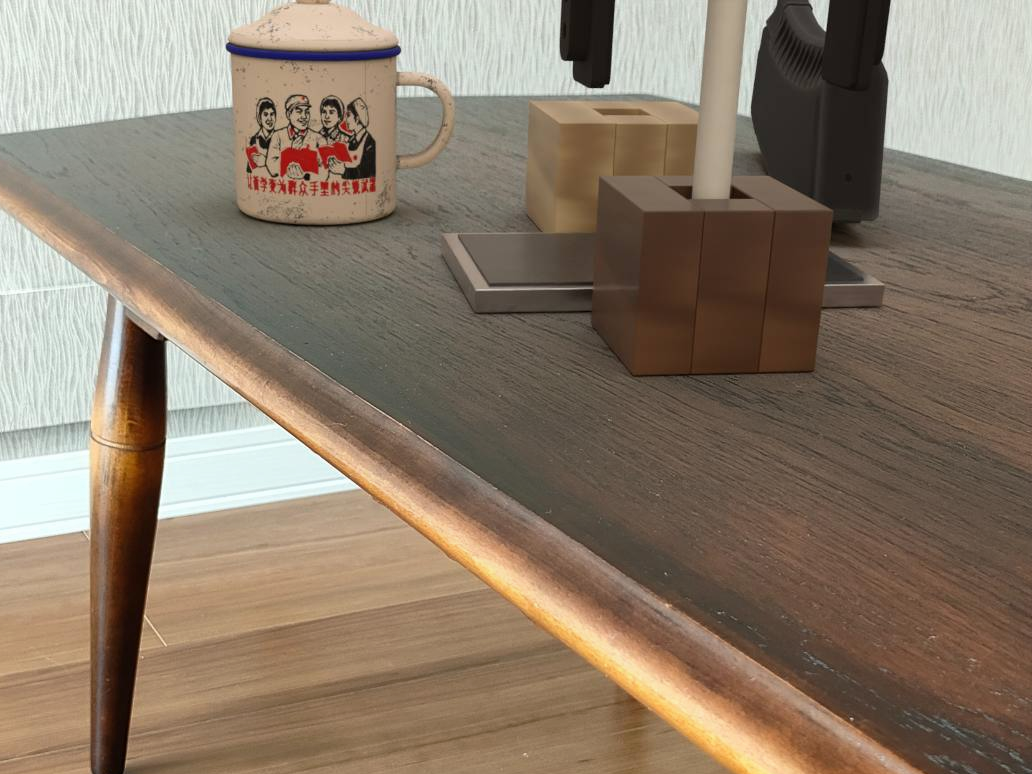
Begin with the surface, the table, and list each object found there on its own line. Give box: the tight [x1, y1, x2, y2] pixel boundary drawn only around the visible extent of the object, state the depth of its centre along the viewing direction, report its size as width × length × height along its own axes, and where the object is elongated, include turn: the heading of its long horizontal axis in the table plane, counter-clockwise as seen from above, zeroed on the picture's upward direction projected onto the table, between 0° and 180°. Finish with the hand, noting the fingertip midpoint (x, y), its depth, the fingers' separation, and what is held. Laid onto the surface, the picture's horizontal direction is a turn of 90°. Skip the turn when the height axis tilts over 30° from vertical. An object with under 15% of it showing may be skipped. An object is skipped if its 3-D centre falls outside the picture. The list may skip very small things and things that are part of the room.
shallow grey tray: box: [440, 232, 886, 314], centre depth 66 cm, size 18×11×1 cm, turn 99°
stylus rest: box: [590, 175, 833, 376], centre depth 55 cm, size 7×7×6 cm
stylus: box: [692, 0, 749, 199], centre depth 54 cm, size 1×1×14 cm
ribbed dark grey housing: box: [750, 0, 890, 224], centre depth 85 cm, size 17×3×30 cm
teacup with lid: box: [225, 0, 457, 226], centre depth 77 cm, size 12×9×12 cm
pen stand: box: [524, 100, 699, 233], centre depth 76 cm, size 8×8×6 cm
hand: (719, 85), depth 53 cm, fingers open, 9 cm apart
